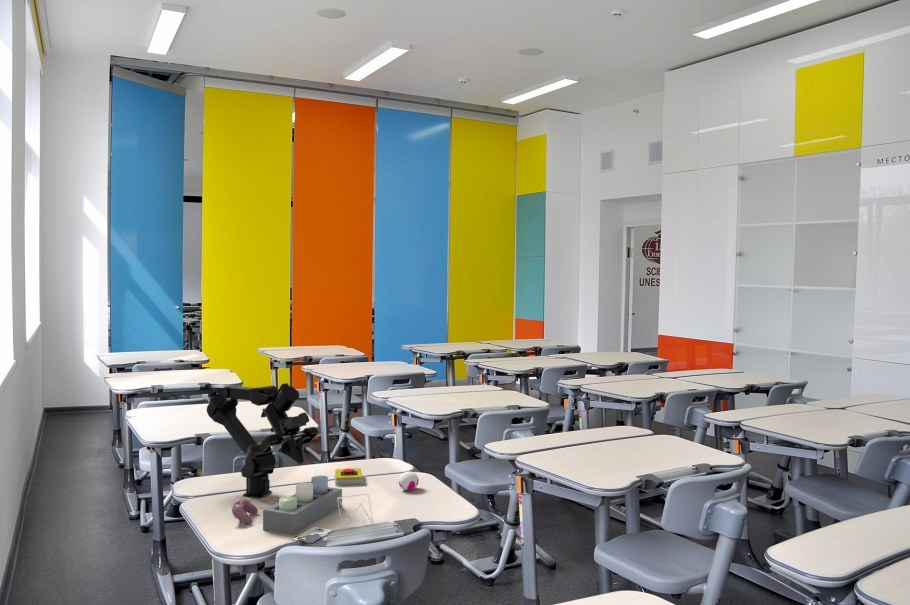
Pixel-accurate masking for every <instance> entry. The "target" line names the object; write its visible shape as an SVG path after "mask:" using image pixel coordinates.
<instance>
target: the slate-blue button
mask: <svg viewBox="0 0 910 605" xmlns="http://www.w3.org/2000/svg"><path fill="white" fill-rule="evenodd" d="M310 483H312V484H313V494H318V495H324V494H326V493H328V487H329V476H326V475H315V476H312V477H311V482H310Z"/></svg>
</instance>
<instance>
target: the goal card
mask: <svg viewBox="0 0 910 605" xmlns="http://www.w3.org/2000/svg"><path fill="white" fill-rule="evenodd" d="M333 531H334V530H333V529H331V528H330V529H329V528H323V527H322V528H321V527H316V526H314V527H312V528H309V529H308V530H307V531H305V532H303V533H301V534H299V535H297V536H296V537H294V538H293V539H292V541H294V542H298V541H297V540H298V539H297V538H298V537H302V539H304V540H306V539H307V538H308V537H304V538H303V536H307V535H314V534H325V533H329V532H331V533H332V532H333ZM329 534H330V533H329ZM307 540H308V539H307Z"/></svg>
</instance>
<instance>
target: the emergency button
mask: <svg viewBox="0 0 910 605" xmlns="http://www.w3.org/2000/svg"><path fill="white" fill-rule="evenodd" d="M334 486H335V487H334V488H348V487H349V488H351V487H353V488H354V487H363V486H364V476H363V472H362V468H359V467H357V468H356V467H352V468H336V469H335V470H334Z"/></svg>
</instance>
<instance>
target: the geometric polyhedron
mask: <svg viewBox="0 0 910 605" xmlns="http://www.w3.org/2000/svg"><path fill="white" fill-rule="evenodd" d="M359 496H360V494H355V495H353V494H352V495H345V496H342V497H338V498H339V499H342V501H347V502H351V503H354V504H358V506H357V508H356V509H355V511H354V512H353V513H352V515H351V516H350V515H349V514H348V512H347V510H346V508H345V507H344V505H343V502H342V503H341V502H340V500H339V499H338V498H337V500H339V502H340V503H341V505H342V507H341V508H343V510H344V511H345V513H346V515H347V517H348V518H349V519H348V520H347V522H346V523H345V525H344V526H343V524H342V517H341V510H340V509H341V508H340V509H338V514H339V520H340V521H339V522H340V527H341V528H340V529H341V530H343V529H345V527H346V525H347V524H348V523H349V521H351V520H354V521H357V522H360V523H363V524H368V525H370V524H374V520H373V512H372V508H371V507H372V506H371V501H370V494H369V493H363V494H361V496H365V497H364V498H363V500H362V501H361V502H356V501H354V500H353V501H352V500H349V499H345V498H349V497H359ZM367 497H368V502H369V503H368V504H369V510H370V515H371V517H370V516H369V515H368V513H367V511H366V510H365V508H364V506H363V505H362V504H363V502H365V500H366V498H367ZM339 502H338V507H339ZM360 506H361V507H362V509H363V511H364V513H365V514H366V516H367V517H368V519H369V521H370V522H371V523H368V522H366V521H361V520H359V519H355V518H352V517H353V516H354V515H355V513H356V512H357V511H358V509H359V508H360ZM349 528H350V527H348V528H346V530H350V529H349Z"/></svg>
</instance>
